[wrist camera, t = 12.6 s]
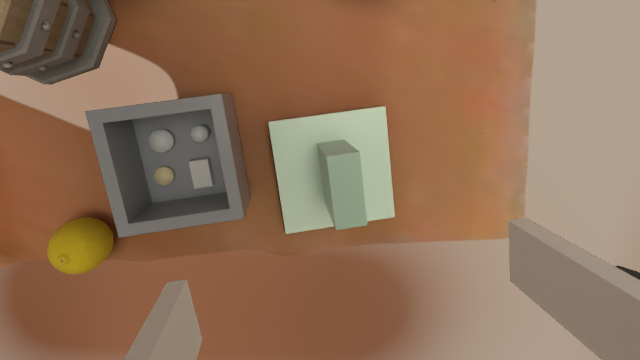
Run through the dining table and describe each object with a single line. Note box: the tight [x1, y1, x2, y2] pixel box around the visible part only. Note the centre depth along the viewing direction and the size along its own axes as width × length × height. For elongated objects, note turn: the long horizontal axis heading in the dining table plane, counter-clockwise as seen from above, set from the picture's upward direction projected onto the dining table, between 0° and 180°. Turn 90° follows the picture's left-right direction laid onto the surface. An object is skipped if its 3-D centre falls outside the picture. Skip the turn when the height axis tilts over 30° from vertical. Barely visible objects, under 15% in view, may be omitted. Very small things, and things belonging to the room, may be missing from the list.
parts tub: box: [85, 93, 250, 237], centre depth 40 cm, size 12×12×8 cm
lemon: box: [47, 217, 114, 274], centre depth 41 cm, size 6×6×8 cm
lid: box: [268, 106, 395, 234], centre depth 41 cm, size 13×13×11 cm
